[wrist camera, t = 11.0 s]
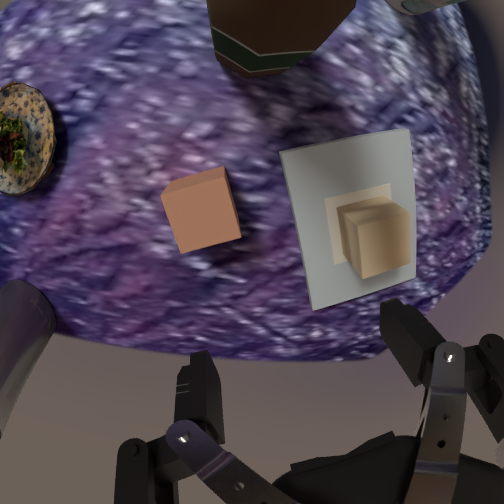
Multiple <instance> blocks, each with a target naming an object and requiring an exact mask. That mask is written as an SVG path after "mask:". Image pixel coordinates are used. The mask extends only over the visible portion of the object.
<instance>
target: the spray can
mask: <svg viewBox="0 0 504 504" xmlns="http://www.w3.org/2000/svg"><path fill="white" fill-rule="evenodd" d="M386 1H387V2H388V3H389V4H390V5H391V6H392V7H394V8H395V9H397V10H398V11H400V12H402V13H405V14H409V15H419V14H422V13H425V12H428V11H431V10H434V9H437V8H441V7H444V6H447V5H451V4H454V3H458V2H462V1H465V0H386Z"/></svg>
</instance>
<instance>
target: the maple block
mask: <svg viewBox="0 0 504 504" xmlns="http://www.w3.org/2000/svg"><path fill="white" fill-rule="evenodd" d="M336 209H337V215H338V221H339V228H340V235H341V242H342V250H343V255H344V256H345V257H346V258H347V260H348V261H349V262H350V264H351V265H352V266H353V267H354V269H355V270H356V271H357V273H358V274H359V275H360V276H361V278H362V279H365V278H368V277H371V276H374V275H377V274H380V273H383V272H386V271H389V270H392V269H395V268H398V267H401V266H404V265H407V264H409V263H411V238H410V212H409V211H407V210H406V209H404V208H403V207H401V206H399V205H398V204H396V203H394V202H393V201H391V200H389V199H388V198H386V197H384V196H379V197H375V198H371V199H367V200H363V201H359V202H355V203H351V204H347V205H344V206H340V207H336Z"/></svg>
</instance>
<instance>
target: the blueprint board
mask: <svg viewBox="0 0 504 504" xmlns="http://www.w3.org/2000/svg"><path fill="white" fill-rule="evenodd" d="M279 155H280V159H281V164H282V168H283V172H284V177H285V181H286V185H287V190H288V194H289V199H290V203H291V208H292V213H293V217H294V222H295V227H296V232H297V237H298V242H299V247H300V252H301V257H302V262H303V267H304V272H305V277H306V283H307V288H308V294H309V299H310V305H311V307H312V309H313V311H314V310H317V309H321V308H324V307H328V306H331V305H334V304H337V303H341V302H344V301H347V300H350V299H353V298H357V297H360V296H363V295H366V294H369V293H372V292H375V291H378V290H381V289H384V288H387V287H390V286H393V285H396V284H399V283H401V282H404V281H407V280H410V279H413V278H415V274H416V202H415V185H414V172H413V161H412V151H411V143H410V135H409V130H408V129H395V130H388V131H382V132H375V133H369V134H363V135H357V136H351V137H346V138H341V139H335V140H330V141H325V142H320V143H315V144H310V145H306V146H301V147H297V148H292V149H288V150H284V151H279ZM379 196H384V197H386V198H388V199H389V200H391V201H393V202H394V203H396V204H398V205H399V206H401V207H403V208H404V209H406V210H407V211H409V212H410V238H411V263H409V264H407V265H404V266H401V267H398V268H395V269H392V270H389V271H386V272H383V273H380V274H377V275H374V276H371V277H368V278H365V279H362V278H361V276H360V275H359V274H358V273H357V271H356V270H355V269H354V267H353V266H352V265H351V264H350V262H349V261H348V260H347V258H346V257H345V256H344V255H343V250H342V242H341V235H340V228H339V221H338V215H337V209H336V207H340V206H344V205H347V204H351V203H355V202H359V201H363V200H367V199H371V198H375V197H379Z"/></svg>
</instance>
